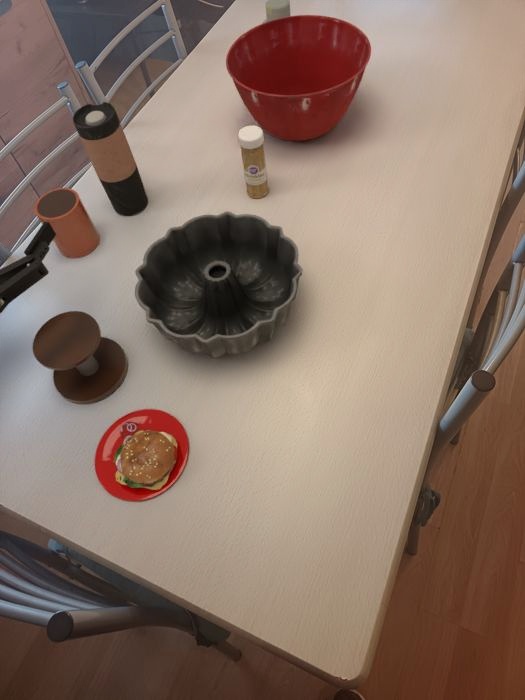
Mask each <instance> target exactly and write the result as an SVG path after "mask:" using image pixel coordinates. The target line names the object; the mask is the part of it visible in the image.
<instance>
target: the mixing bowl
mask: <svg viewBox="0 0 525 700" xmlns="http://www.w3.org/2000/svg"><path fill="white" fill-rule="evenodd" d="M262 23H263V22H262ZM262 23H260V24H258V25H256V26H253V27H252V28H250V29H248V30H247V31H246V32H243V34H241V35H240V36H239V37H237V39H236V40H235V41H234V42H233V43H232V44H231V46H230V47H229V49H228V51H227V53H226V58H225V59H226V60H225V67H226V71H227V73H228V75H229V76H230V78H231V79H232V81H233V84H234V86H235V89H236V90H237V93H238V95H239V97H240V99H241V100H242V102H243V104H244V106H245V107H246V109H247V111H248V112H249V114H250V115H251V116H252V118H253V119H254V121H255V122H256V124H258V126H259V127H260V128H261V129H262V130H264V131H265V132H266V133H268V134H269V135H271V136H273V137H275V138H277V139H281V140H285V141H290V142H303V141H310V140H312V139H316V138H319V137H322V136H323V135H325V134H326V133H328V132H330V131H331V130H332V129H333V128H335V127H336V126H337V125H338V124H339V123H340V121H341V120H342V119H343V117H344V116H345V114H346V113H347V111H348V110H349V108H350V106H351V104H352V102H353V100H354V99H355V97H356V94H357V92H358V90H359V87H360V84H361V82H362V79H363V76H364V73H365V70H366V68H367V65H368V63H369V62H370V59H371V55H372V46H371V43H370V40H369V38H368V36H367V35H366V34H365V33H364V31H362V30H361V29H360V28H359V27H357V26H356V25H355V24H352V23H351V22H348V21H345V20H343V19H340V18H336V17H332V16H327V15H321V14H320V15H318V14H298V15H290V16H289V17H283V18H279V19H275V20H272V21H269V22H266V23H263V24H262Z"/></svg>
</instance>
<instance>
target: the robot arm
mask: <svg viewBox="0 0 525 700" xmlns="http://www.w3.org/2000/svg"><path fill="white" fill-rule="evenodd" d="M55 236H56V233H55V231H54V230H53V228H52V226H51V225H50V223H49V222H44V223H43V224H41V226H40V228H39V229H38V230H37V232H36V233H35V235H34V236H33V238H32V239H31V241H30V242H29V244H28V245H27V246H26V248H25V249H24V251H23V253H24V254H25V256H23V257H21V258H19V259H17V260H15V261H13V262H11V263H9V264H7V265H6V266H4V267H1V268H0V314H2V313H3V312H4V310H5V309H6V308H7V307H8V305H9V304H10V303H12V302H13V301H14V300H15V299H17V298H18V297H20V296H21V295H23V294H24V293H25V292H27V291H28V290H29V289H30V288H31V287H33V286H34V285H35V284H37V283H38V282H40V281H41V280H42V279H43V278H45V277H47V275H49V273H50V271H49V270H48V268H47V266H46V265H45V264H44V263H43V261H44V259H45V258H46V256H47V255H48V253H49V251H50V245H51V243H52V242H53V239H54V237H55Z"/></svg>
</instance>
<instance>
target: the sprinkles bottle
mask: <svg viewBox="0 0 525 700" xmlns="http://www.w3.org/2000/svg"><path fill="white" fill-rule="evenodd" d="M237 137H238V144H239V146H240V151H241V152H240V153H241V159H242V166H243V175H244V180H245V184H246V194H247V195H248V196H249V197H250V198H252V199H262V198H264V197H266V196H267V195H268V194H269V191H270V188H269V183H268V172H267V171H268V170H267V160H266V152H265V146H264V144H265V137H264V131H263V128H262V127H261V126H259V125H258V126H257V125H252V124H251V125H246V126H243V127H242V128H241V129H240V130H239V131H238V133H237Z"/></svg>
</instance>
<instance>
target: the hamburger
mask: <svg viewBox="0 0 525 700" xmlns="http://www.w3.org/2000/svg"><path fill="white" fill-rule="evenodd" d="M189 449H190V447H189V437H188V435H187V432H186V429H185V428H184V426H183V424H182V423H181V422H180V420H179V419H177V418H176V417H175V416H173V415H172V414H170V413H168V412H166V411H164V410H160V409H154V408H146V409H145V408H144V409H143V408H142V409H138V410H135V411H132V412H131V411H130V412H129V413H127V414H125V415H122V416H121V417H120V418H118V419H117V420H116V421H114V422H113V423H112V424H111V425H110V426H109V427H108V428H107V429H106V431H104V433H103V435H102V437H101V438H100V440H99V442H98V444H97V447H96V451H95V455H94V470H95V474H96V477H97V479H98V481H99V483H100V485H101V486H102V488H103V489H104V490H105V491H106V492H107V493H109V494H110V495H111V496H113V497H115V498H117V499H119V500H123V501H129V502H139V501H145V500H149V499H152V498H155V497H156V496H159V495H160V494H162V493H164V492H165V491H167V490H168V489H169V488H170V487H171V486H173V484H174V483H176V481H177V480H178V479H179V477H180V476H181V474H182V472H183V471H184V469H185V467H186V464H187V461H188V458H189Z"/></svg>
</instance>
